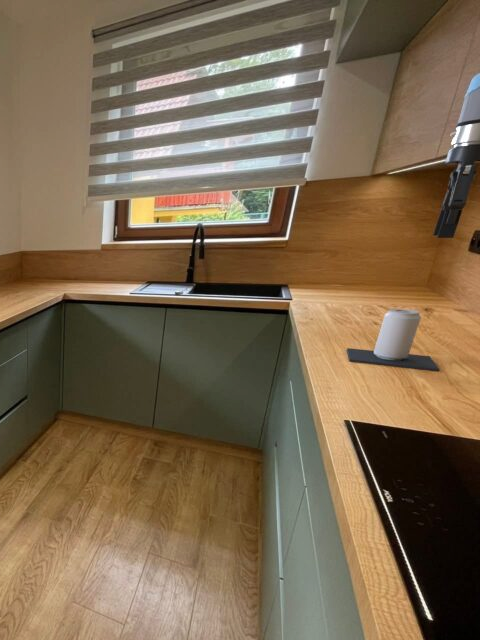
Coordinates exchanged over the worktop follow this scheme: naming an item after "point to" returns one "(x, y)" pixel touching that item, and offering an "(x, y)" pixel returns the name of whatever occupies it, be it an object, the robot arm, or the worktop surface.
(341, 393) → the worktop surface
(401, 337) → the beverage can
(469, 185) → the robot arm
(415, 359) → the mat
